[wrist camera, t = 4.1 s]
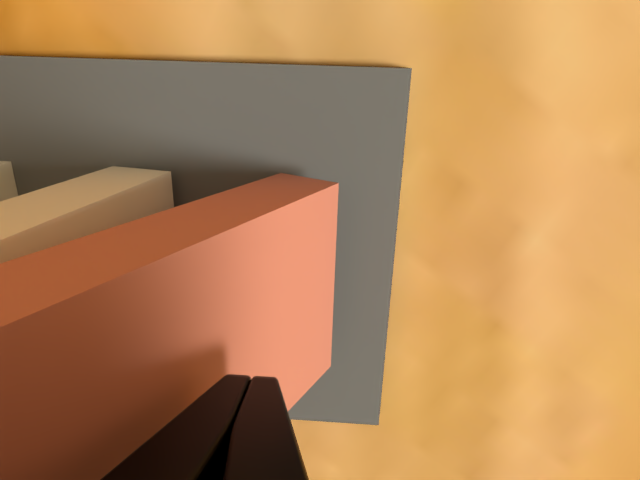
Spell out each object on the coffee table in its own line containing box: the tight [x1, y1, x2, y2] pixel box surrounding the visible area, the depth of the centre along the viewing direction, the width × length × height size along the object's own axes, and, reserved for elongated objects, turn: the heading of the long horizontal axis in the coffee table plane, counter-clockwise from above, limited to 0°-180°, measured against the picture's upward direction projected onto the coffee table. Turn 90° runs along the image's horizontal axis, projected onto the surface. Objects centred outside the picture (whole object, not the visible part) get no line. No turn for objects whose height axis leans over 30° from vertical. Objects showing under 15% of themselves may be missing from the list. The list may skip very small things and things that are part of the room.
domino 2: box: [0, 173, 339, 480], centre depth 8 cm, size 2×5×9 cm
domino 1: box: [0, 166, 174, 264], centre depth 8 cm, size 2×5×9 cm, turn 179°
